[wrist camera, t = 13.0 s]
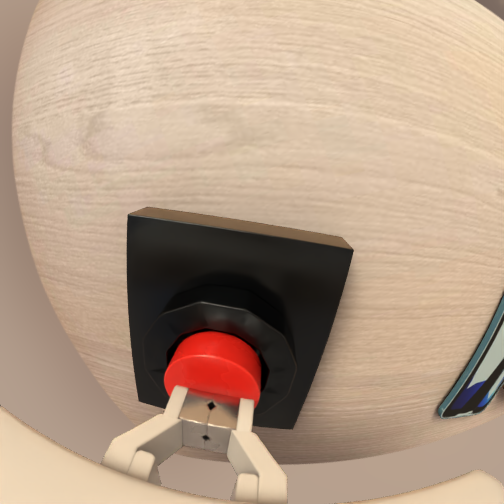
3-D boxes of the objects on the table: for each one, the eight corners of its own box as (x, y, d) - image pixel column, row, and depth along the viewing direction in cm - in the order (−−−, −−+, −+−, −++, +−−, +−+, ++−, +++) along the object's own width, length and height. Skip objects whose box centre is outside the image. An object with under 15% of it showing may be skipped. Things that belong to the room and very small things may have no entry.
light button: (254, 401, 13) (252, 427, 11) (175, 386, 13) (165, 410, 11) (268, 338, 11) (268, 365, 10) (175, 322, 11) (161, 345, 10)
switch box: (291, 406, 17) (293, 451, 13) (149, 380, 17) (128, 420, 13) (342, 237, 14) (367, 263, 10) (146, 206, 14) (106, 222, 10)
